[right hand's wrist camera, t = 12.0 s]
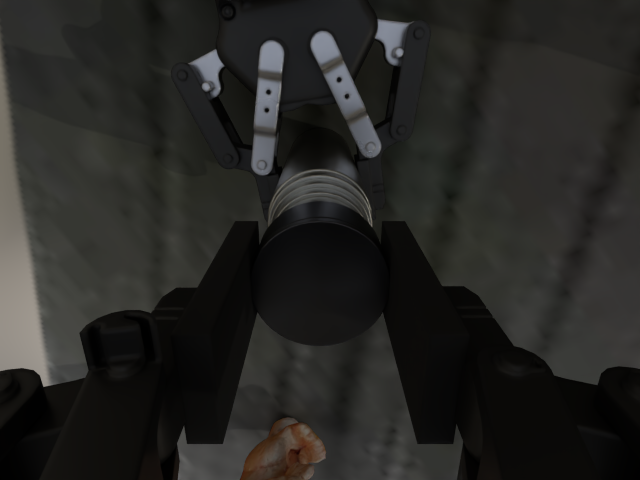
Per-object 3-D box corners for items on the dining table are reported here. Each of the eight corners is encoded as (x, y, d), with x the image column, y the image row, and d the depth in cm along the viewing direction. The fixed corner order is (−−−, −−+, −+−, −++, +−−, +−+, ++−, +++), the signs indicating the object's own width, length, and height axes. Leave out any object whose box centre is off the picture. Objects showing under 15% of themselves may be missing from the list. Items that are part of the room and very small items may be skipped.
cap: (270, 319, 15) (263, 353, 13) (247, 209, 14) (235, 231, 12) (386, 305, 15) (395, 338, 13) (375, 192, 13) (384, 211, 12)
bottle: (294, 193, 32) (261, 351, 14) (284, 132, 30) (231, 221, 12) (354, 185, 32) (399, 335, 14) (347, 123, 30) (388, 200, 12)
